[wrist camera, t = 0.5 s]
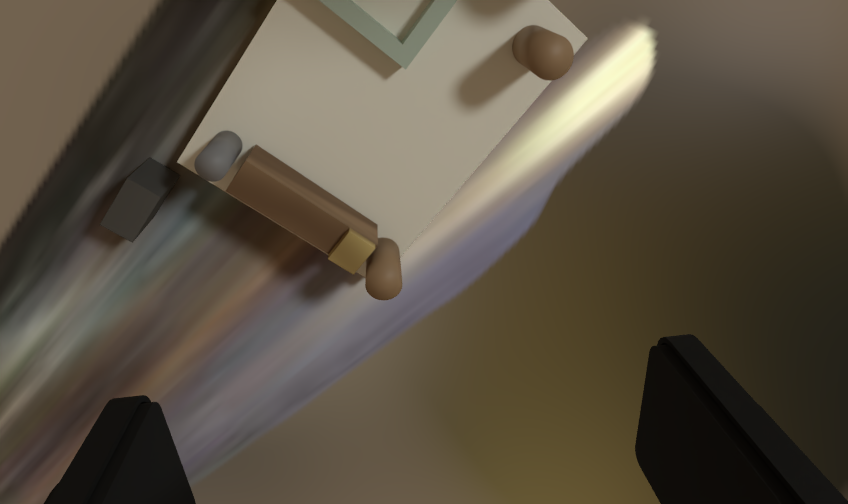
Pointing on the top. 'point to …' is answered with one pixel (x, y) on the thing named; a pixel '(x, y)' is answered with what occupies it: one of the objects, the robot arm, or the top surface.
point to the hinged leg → (305, 209)
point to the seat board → (371, 108)
